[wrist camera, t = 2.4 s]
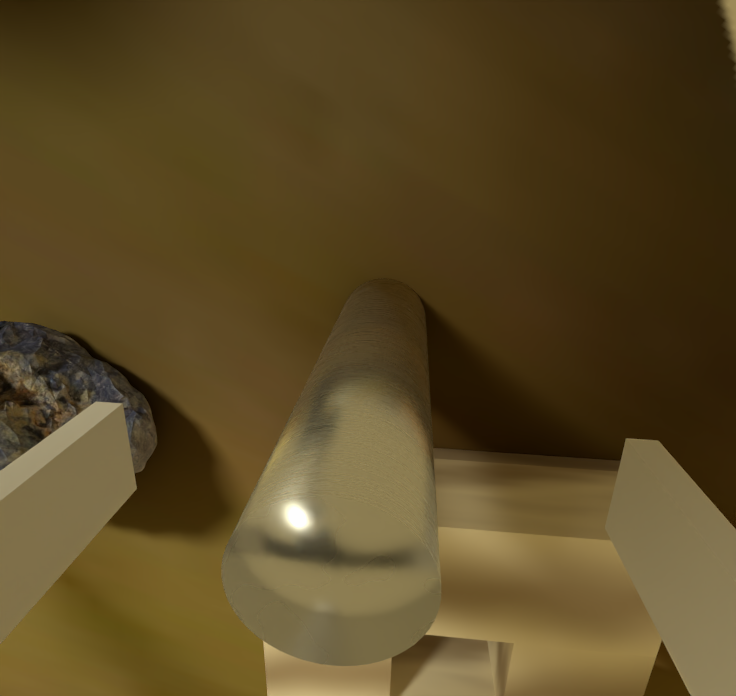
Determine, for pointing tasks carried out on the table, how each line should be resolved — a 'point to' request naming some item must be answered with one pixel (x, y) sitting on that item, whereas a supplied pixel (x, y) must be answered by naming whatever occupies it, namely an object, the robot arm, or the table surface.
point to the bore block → (511, 592)
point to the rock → (60, 391)
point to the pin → (348, 498)
